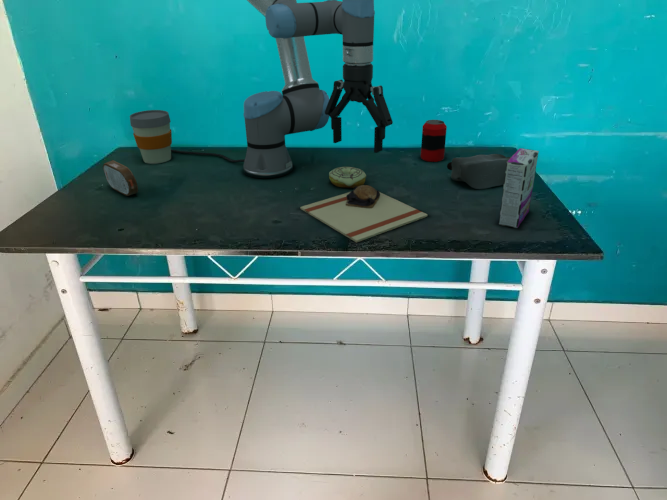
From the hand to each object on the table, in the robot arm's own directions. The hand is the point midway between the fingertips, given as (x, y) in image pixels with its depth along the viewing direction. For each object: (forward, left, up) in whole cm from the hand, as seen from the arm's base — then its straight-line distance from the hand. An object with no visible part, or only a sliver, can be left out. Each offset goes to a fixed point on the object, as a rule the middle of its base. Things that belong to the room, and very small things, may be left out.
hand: (357, 146), depth 139 cm
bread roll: (+5, -2, -13) cm, 14 cm away
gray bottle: (+14, +34, -14) cm, 40 cm away
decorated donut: (-9, +3, -14) cm, 17 cm away
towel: (+10, -6, -14) cm, 18 cm away
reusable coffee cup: (-66, -34, -14) cm, 75 cm away
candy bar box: (+36, +21, -14) cm, 44 cm away
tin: (-44, -52, -14) cm, 69 cm away
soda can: (-9, +38, -14) cm, 42 cm away
